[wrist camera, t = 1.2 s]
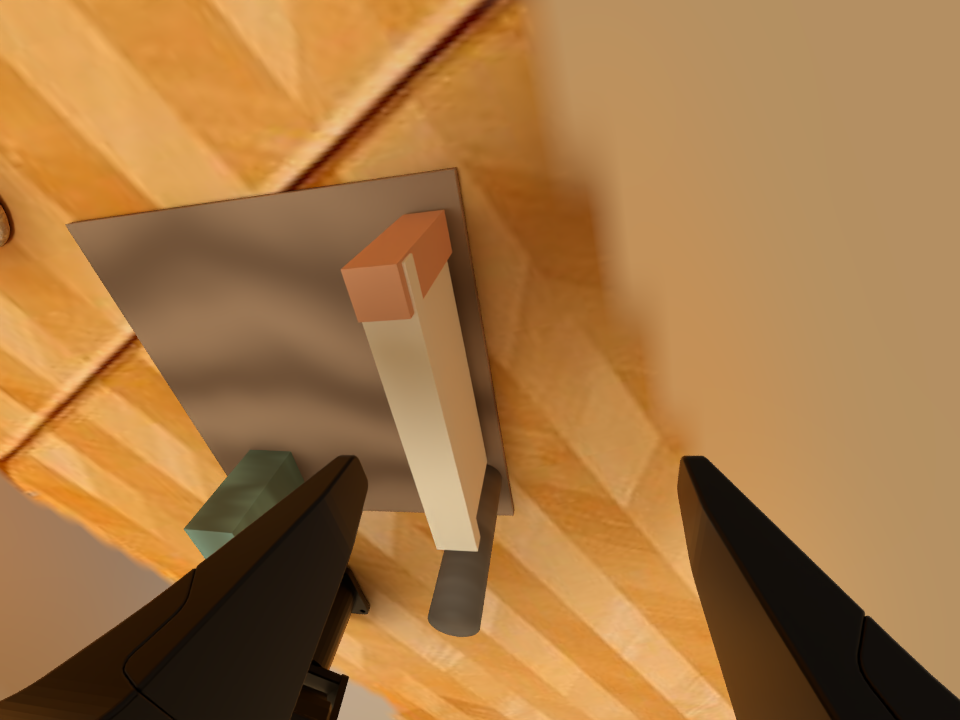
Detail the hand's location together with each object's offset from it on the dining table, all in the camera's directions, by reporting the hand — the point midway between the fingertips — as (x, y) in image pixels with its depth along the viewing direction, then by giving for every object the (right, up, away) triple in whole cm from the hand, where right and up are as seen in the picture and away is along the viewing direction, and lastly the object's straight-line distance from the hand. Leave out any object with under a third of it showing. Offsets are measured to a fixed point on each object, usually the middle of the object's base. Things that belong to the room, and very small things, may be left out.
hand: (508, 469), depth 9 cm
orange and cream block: (-2, +3, +12) cm, 13 cm away
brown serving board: (-10, +1, +16) cm, 19 cm away
